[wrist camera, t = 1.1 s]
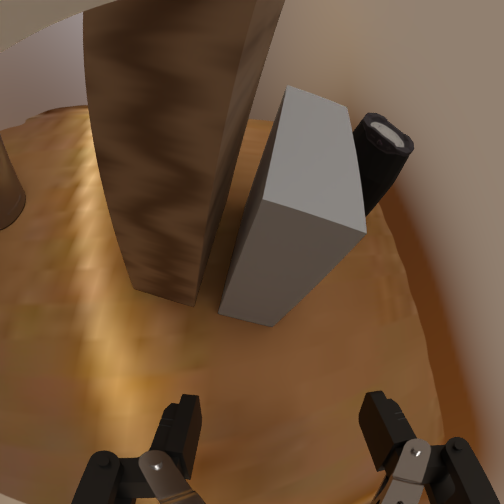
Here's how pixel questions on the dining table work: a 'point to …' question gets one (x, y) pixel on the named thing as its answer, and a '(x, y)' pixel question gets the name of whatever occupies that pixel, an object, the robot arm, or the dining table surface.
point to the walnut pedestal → (171, 124)
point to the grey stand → (296, 210)
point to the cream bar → (36, 16)
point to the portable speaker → (379, 156)
